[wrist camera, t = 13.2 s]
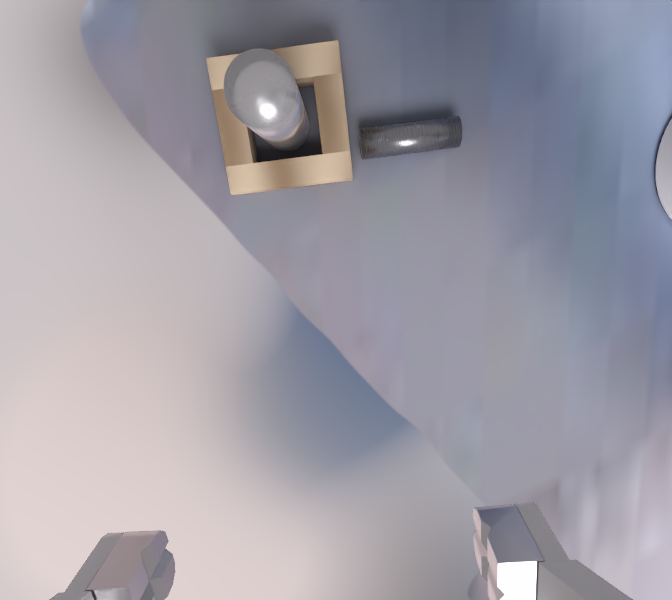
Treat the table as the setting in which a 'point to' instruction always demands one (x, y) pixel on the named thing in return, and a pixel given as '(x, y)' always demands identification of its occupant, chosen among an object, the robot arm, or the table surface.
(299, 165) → the socket block
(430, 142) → the pin
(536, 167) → the table surface
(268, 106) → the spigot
